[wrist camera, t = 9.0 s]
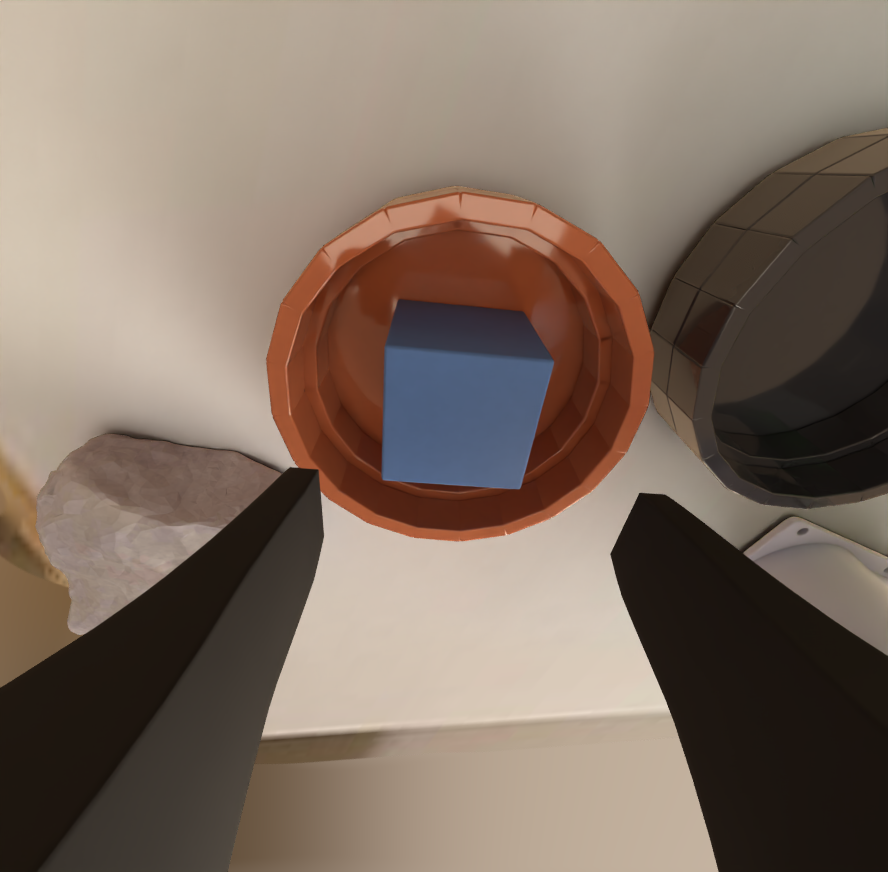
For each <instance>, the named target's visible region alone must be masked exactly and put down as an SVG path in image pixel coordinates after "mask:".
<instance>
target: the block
mask: <svg viewBox="0 0 888 872" xmlns="http://www.w3.org/2000/svg"><path fill="white" fill-rule="evenodd" d="M553 365H554V360H553V358H552V357H551V355H550V353H549V352H548V350H547V349H546V347H545V345H544V344H543V342H542V340H541V339H540V337H539V336H538V334H537V332H536V331H535V329H534V327H533V326H532V324H531V322H530V321H529V319H528V318H527V316H526V314H525V313H524V312H523V311H513V310H503V309H493V308H483V307H473V306H463V305H452V304H442V303H432V302H422V301H412V300H402V299H400V300H398V302H397V305H396V309H395V312H394V316H393V319H392V323H391V326H390V330H389V333H388V337H387V340H386V344H385V347H384V386H383V429H382V471H381V477H382V480H386V481H401V482H416V483H431V484H445V485H460V486H475V487H490V488H504V489H520V488H521V485H522V482H523V478H524V474H525V470H526V467H527V463H528V459H529V455H530V452H531V448H532V444H533V440H534V437H535V433H536V429H537V425H538V422H539V418H540V414H541V410H542V406H543V403H544V399H545V395H546V391H547V388H548V384H549V380H550V376H551V373H552V369H553Z"/></svg>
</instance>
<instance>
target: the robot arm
mask: <svg viewBox="0 0 888 872" xmlns="http://www.w3.org/2000/svg"><path fill="white" fill-rule="evenodd" d="M323 538H324V530H323V518H322V505H321V493H320V480H319V469H306V468H292V467H290V468H289V469H287V470H286V471H285V472H284V473H283V474H282V475H281V476H279V477H278V478H277V479H276V480H275V481H274V482H273V483H272V484H271V485H270V486H269V487H268V488H267V489H266V490H265V491H264V492H263V493H262V494H260V495H259V496H258V497H257V498H256V499H255V500H254V501H253V502H252V503H251V504H250V505H249V506H248V507H247V508H245V509H244V510H243V511H242V512H241V513H240V514H239V515H238V516H237V517H235V518H234V519H233V520H232V521H231V522H230V523H229V524H228V525H226V526H225V527H224V528H223V529H222V530H221V531H220V532H219V533H217V534H216V535H215V536H214V537H213V538H212V539H211V540H209V541H208V542H207V543H206V544H205V545H203V546H202V547H201V548H200V549H198V550H197V551H196V552H195V553H194V554H192V555H191V556H190V557H189V558H187V559H186V560H185V561H184V562H182V563H181V564H180V565H179V566H178V567H176V568H175V569H174V570H173V571H171V572H170V573H169V574H168V575H166V576H165V577H164V578H163V579H161V580H160V581H159V582H157V583H156V584H155V585H153V586H152V587H151V588H149V589H148V590H147V591H145V592H144V593H143V594H141V595H140V596H139V597H137V598H136V599H135V600H133V601H132V602H130V603H129V604H128V605H126V606H125V607H123V608H122V609H121V610H119V611H118V612H116V613H115V614H113V615H112V616H111V617H109V618H108V619H106V620H105V621H104V622H102V623H101V624H99V625H98V626H96V627H95V628H93V629H92V630H90V631H89V632H87V633H86V634H84V635H83V636H81V637H80V638H78V639H77V640H75V641H73V642H72V643H70V644H69V645H67V646H66V647H64V648H62V649H61V650H59V651H58V652H56V653H55V654H53V655H51V656H50V657H49V658H47V659H45V660H44V661H42V662H41V663H39V664H37V665H36V666H34V667H33V668H31V669H30V670H28V671H27V672H25V673H23V674H22V675H20V676H19V677H17V678H15V679H14V680H12V681H11V682H9V683H7V684H6V685H4V686H3V687H1V688H0V872H228V868H229V864H230V859H231V855H232V851H233V847H234V843H235V838H236V834H237V830H238V825H239V822H240V818H241V814H242V810H243V806H244V802H245V798H246V794H247V790H248V786H249V782H250V778H251V774H252V770H253V766H254V762H255V759H256V755H257V751H258V747H259V744H260V740H261V736H262V732H263V728H264V725H265V721H266V717H267V713H268V710H269V706H270V703H271V700H272V697H273V694H274V691H275V688H276V684H277V681H278V679H279V676H280V673H281V670H282V668H283V665H284V662H285V659H286V656H287V654H288V651H289V648H290V645H291V643H292V640H293V637H294V634H295V631H296V629H297V626H298V623H299V620H300V618H301V615H302V612H303V609H304V606H305V604H306V601H307V598H308V595H309V592H310V589H311V586H312V584H313V581H314V577H315V573H316V569H317V565H318V561H319V556H320V552H321V547H322V543H323ZM611 558H612V562H613V566H614V570H615V574H616V578H617V581H618V585H619V588H620V591H621V595H622V598H623V600H624V603H625V605H626V608H627V610H628V612H629V615H630V617H631V620H632V622H633V624H634V627H635V629H636V632H637V634H638V636H639V639H640V641H641V643H642V646H643V648H644V650H645V653H646V655H647V657H648V660H649V662H650V664H651V667H652V669H653V671H654V674H655V676H656V678H657V681H658V683H659V686H660V688H661V690H662V693H663V695H664V697H665V700H666V702H667V705H668V708H669V710H670V713H671V715H672V718H673V721H674V723H675V726H676V729H677V732H678V736H679V739H680V742H681V744H682V748H683V751H684V754H685V757H686V760H687V763H688V766H689V769H690V773H691V775H692V779H693V782H694V786H695V789H696V792H697V796H698V799H699V802H700V806H701V809H702V813H703V816H704V820H705V823H706V827H707V830H708V833H709V837H710V840H711V844H712V848H713V852H714V856H715V859H716V863H717V867H718V871H719V872H888V557H887V556H884V555H882V554H880V553H878V552H875V551H873V550H871V549H869V548H867V547H864V546H862V545H860V544H858V543H855V542H853V541H851V540H849V539H847V538H844V537H842V536H840V535H838V534H835V533H833V532H831V531H829V530H826V529H824V528H822V527H820V526H818V525H815V524H813V523H811V522H809V521H806V520H804V519H802V518H800V517H790V518H787V519H786V520H784V521H783V522H782V523H780V524H779V525H778V526H776V527H775V528H774V529H773V530H771V531H770V532H769V533H767V534H766V535H765V536H764V537H762V538H761V539H760V540H758V541H757V542H756V543H755V544H753V545H752V546H751V547H750V548H748V549H747V550H746V551H744V552H743V553H742V552H740V551H739V550H738V549H737V548H735V547H734V546H733V545H732V544H730V543H729V542H728V541H726V540H725V539H724V538H723V537H721V536H720V535H719V534H717V533H716V532H715V531H714V530H712V529H711V528H710V527H709V526H707V525H706V524H705V523H703V522H702V521H701V520H699V519H698V518H697V517H696V516H694V515H693V514H692V513H690V512H689V511H688V510H686V509H685V508H684V507H682V506H681V505H680V504H678V503H677V502H675V501H674V500H672V499H671V498H670V497H668V496H667V495H663V494H649V493H639V495H638V497H637V499H636V501H635V504H634V506H633V508H632V510H631V512H630V514H629V516H628V518H627V520H626V522H625V525H624V527H623V529H622V531H621V533H620V535H619V537H618V539H617V541H616V543H615V546H614V548H613V550H612V552H611Z"/></svg>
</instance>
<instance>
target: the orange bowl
mask: <svg viewBox="0 0 888 872" xmlns="http://www.w3.org/2000/svg"><path fill="white" fill-rule="evenodd" d="M400 299H402V300H412V301H422V302H432V303H442V304H452V305H463V306H473V307H483V308H493V309H503V310H513V311H523V312H524V313H525V314H526V316H527V318H528V319H529V321H530V322H531V324H532V326H533V327H534V329H535V331H536V332H537V334H538V336H539V337H540V339H541V340H542V342H543V344H544V345H545V347H546V349H547V350H548V352H549V353H550V355H551V357H552V358H553V360H554V365H553V369H552V373H551V376H550V380H549V384H548V388H547V391H546V395H545V399H544V403H543V406H542V410H541V414H540V418H539V422H538V425H537V429H536V433H535V437H534V440H533V444H532V448H531V452H530V455H529V459H528V463H527V467H526V470H525V474H524V478H523V482H522V485H521V488H520V489H504V488H490V487H475V486H460V485H445V484H431V483H416V482H401V481H386V480H382V477H381V471H382V429H383V386H384V347H385V344H386V340H387V337H388V333H389V330H390V326H391V323H392V319H393V316H394V312H395V309H396V305H397V302H398V300H400ZM266 361H267V362H266V364H267V374H268V383H269V393H270V402H271V411H272V415H273V419H274V421H275V423H276V425H277V427H278V429H279V431H280V434H281V436H282V438H283V440H284V442H285V444H286V446H287V448H288V450H289V452H290V455H291V457H292V459H293V461H295V464H296V465H297V466H298V467H299V468H306V469H319V480H320V491H321V492H322V493H323V494H324V495H325V496H326V497H328V499H329V500H331V501H333V502H334V503H336V504H337V505H339V506H341V507H342V508H344V509H346V510H347V511H349V512H350V513H352V514H354V515H355V516H357V517H359V518H360V519H362V520H363V521H365V522H367V523H369V524H372V525H375V526H378V527H381V528H384V529H387V530H391V531H394V532H397V533H400V534H403V535H406V536H409V537H414V538H423V539H435V540H447V541H468V540H475V539H482V538H490V537H497V536H504V535H506V534H511V533H514V532H517V531H519V530H522V529H525V528H527V527H530V526H533V525H535V524H538V523H541V522H544V521H546V520H549V519H551V517H552V518H553V517H555V516H556V515H558V514H559V513H561V512H562V511H564V510H565V509H567V508H568V507H570V506H571V505H573V504H574V503H576V502H577V501H579V500H580V499H582V498H583V497H585V496H586V495H588V494H589V493H591V492H592V490H594V489H595V488H596V487H597V486H598V485H599V483H600V482H601V481H602V480H603V479H604V478H605V477H606V475H607V474H608V473H609V472H610V471H611V470H612V469H613V468H614V466H615V465H616V464H617V463H618V462H619V461H620V460H621V459H622V457H623V456H624V455H625V453H627V451H628V449H629V447H630V445H631V442H632V440H633V438H634V436H635V434H636V432H637V430H638V427H639V425H640V423H641V421H642V419H643V417H644V415H645V412H646V410H647V408H648V405H649V398H650V388H651V379H652V370H653V361H654V347H653V343H652V340H651V336H650V332H649V328H648V325H647V321H646V317H645V313H644V309H643V306H642V302H641V298H640V295H639V294H638V290H637V289H636V288H635V286H634V285H633V284H632V282H631V281H630V280H629V278H628V277H627V276H626V274H625V273H624V272H623V270H622V269H621V268H620V266H619V265H618V264H617V262H616V261H615V260H614V258H613V257H612V256H611V254H610V253H609V252H608V250H607V249H606V248H605V247H604V245H603V244H602V243H601V242H600V241H598V239H597V238H595V237H594V236H592V235H590V234H589V233H587V232H585V231H584V230H582V229H580V228H578V227H577V226H575V225H573V224H572V223H570V222H568V221H567V220H565V219H563V218H562V217H560V216H558V215H556V214H555V213H553V212H551V211H550V210H548V209H546V208H545V207H543V206H541V205H540V204H537V203H534V202H532V201H529V200H526V199H523V198H520V197H518V196H515V195H511V194H505V193H499V192H493V191H486V190H480V189H474V188H468V187H462V186H450V187H445V188H440V189H436V190H431V191H426V192H421V193H417V194H412V195H407V196H402V197H398V198H396V199H393V200H392V201H390V202H389V203H387V204H385V205H384V206H382V207H381V208H379V209H378V210H376V211H375V212H373V213H371V214H370V215H368V216H367V217H365V218H364V219H362V220H360V221H359V222H357V223H356V224H354V225H353V226H351V227H350V228H348V229H347V230H345V231H344V232H342V233H341V234H339V235H338V236H336V237H335V238H334V239H332V240H331V241H329V242H328V243H326V244H325V245H323V247H322V248H321V249H319V251H318V252H317V254H316V255H315V256H314V258H313V259H312V260H311V262H310V263H309V264H308V266H307V267H306V269H305V270H304V271H303V273H302V274H301V275H300V277H299V278H298V280H297V281H296V282H295V284H294V285H293V286H292V288H291V289H290V290H289V292H288V293H287V295H286V296H285V297H284V299H283V302H282V303H281V304H280V308H279V312H278V316H277V320H276V323H275V327H274V331H273V335H272V338H271V342H270V346H269V350H268V354H267V357H266Z"/></svg>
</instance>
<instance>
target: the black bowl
mask: <svg viewBox="0 0 888 872" xmlns="http://www.w3.org/2000/svg"><path fill="white" fill-rule="evenodd" d="M674 277H675V278H673V279H672V281H671V283H670V285H669V288H668V290H667V292H666V295H665V297H664V299H663V302H662V304H661V307H660V309H659V311H658V314H657V316H656V318H655V321H654V323H653V326H652V329H651V330H650V336H651V340H652V343H653V347H654V361H653V370H652V379H651V388H650V390H651V394H652V397H653V401H654V404H655V408H656V410H657V412H658V413H659V415H660V416H661V417H662V418H663V419H664V420H665V421H666V423H667V424H668V425H669V426H670V427H671V428H672V429H673V431H674V432H675V433H676V434H677V435H678V436H679V437H680V439H681V440H682V441H683V442H684V443H685V444H686V445H687V446H688V447H689V449H690V450H691V451H692V452H693V453H694V454H695V455H696V456H697V457H698V458H699V460H700V461H701V462H702V463H703V464H704V465H705V466H706V467H707V468H708V470H709V471H710V472H711V473H712V474H713V475H714V476H715V477H716V478H717V480H718V481H719V482H720V483H721V484H722V485H723V486H724V487H725V488H726V489H728V490H730V491H732V492H735V493H737V494H739V495H741V496H744V497H746V498H748V499H750V500H753V501H755V502H757V503H759V504H764V505H771V506H781V507H792V508H802V509H807V508H808V509H812V508H820V507H827V506H835V505H842V504H849V503H857V502H860V501H865V500H868V499H871V498H874V497H877V496H881V495H884V494H887V493H888V128H883V129H878V130H873V131H869V132H864V133H859V134H854V135H849V136H844V137H842V138H840V139H836V140H834V141H832V142H830V143H828V144H826V145H825V146H823V147H821V148H819V149H817V150H815V151H813V152H811V153H809V154H807V155H805V156H803V157H801V158H800V159H798V160H796V161H794V162H792V163H790V164H788V165H786V166H784V167H782V168H780V169H778V170H777V171H775V172H773V173H772V174H770V175H768V176H767V177H766V178H765V179H764V180H763V181H761V182H760V183H759V184H758V185H757V186H756V187H754V188H753V189H752V190H751V191H750V192H749V193H747V194H746V195H745V196H744V197H743V198H741V199H740V200H739V201H738V202H737V203H736V204H734V205H733V206H732V207H731V208H730V209H729V210H727V211H726V212H725V213H724V214H723V215H722V216H720V217H719V218H718V219H717V220H716V221H715V222H714V224H713V225H712V226H711V227H710V228H709V230H708V231H707V232H706V234H705V235H704V236H703V238H702V239H701V240H700V242H699V243H698V244H697V246H696V247H695V248H694V250H693V251H692V252H691V254H690V255H689V256H688V258H687V259H686V260H685V262H684V263H683V264H682V266H681V267H680V268H679V270H678V271H677V272H676V274H675V275H674Z"/></svg>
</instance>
